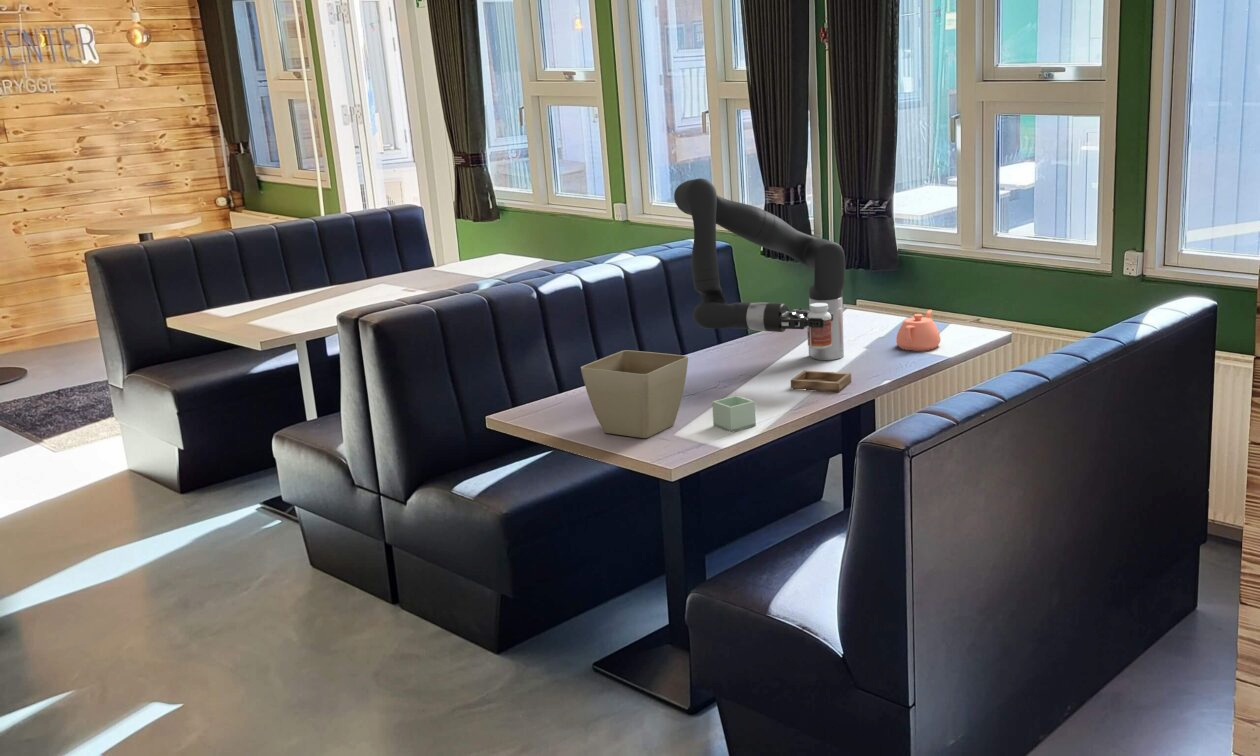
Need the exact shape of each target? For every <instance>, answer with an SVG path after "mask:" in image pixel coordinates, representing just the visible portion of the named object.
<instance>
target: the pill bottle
mask: <svg viewBox="0 0 1260 756" xmlns="http://www.w3.org/2000/svg"><path fill="white" fill-rule="evenodd" d="M809 309H810V311H811V312H810V313H809V314H808V315H807V317H808V318H809V320H810V318H822V319H824V327H822V328H821V327H810V326H809V328H806V329H807V330H806V331H807V332H806V333H807V346H808V348H809V347H810V348H814V349H824V348H828V347H830V346H831V345H832V330H831V314H830V313H829V312H827V310H828V304H827V303H813V304H810V307H809Z"/></svg>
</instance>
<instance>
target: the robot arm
mask: <svg viewBox="0 0 1260 756" xmlns="http://www.w3.org/2000/svg"><path fill="white" fill-rule="evenodd" d="M673 197H674V198H673V199H674V203H675V205H676V206H677V208H678V210H680V211H681V212H682V213H684V214H686V215H689V216H691V218H692V222H693V232H694V233H693V245H692V250H691V252H692V253H691V273H692V279H693V280H692V281H693V286H694V291H696V292H697V293H699V295H700V298H701V303H699V304H698V305H696V306H695V308H694V309H693V312H692V319H693V320H694V322H695V323H696V325H697V326H698V327H700V328H702V329H709V330H710V329H712V330H713V329H715V330H717V329H739V330H740V329H741V330H753V331H758V332H773V333H774V332H775V333H783V332H785V331H786V330H804V329H807V328H809V326H810V327H821V328H822V327H824V319H822V318H810V320H809V318H808V317H807V315H808V314H809V313H810V312H811V311H810V304H813V303H827V304H828V310H827V312H829V313H830V314H831V330H832V345H831V346H830V347H828V348H824V349H814V348H810V347H809V346H808V356H810V357H811V358H812V359H814V360H817V361H832V360H838V359H841V358H844V356H845V352H844V351H845V350H844V345H845V344H844V310H843V292H844V288H845V283H846V255H845V251H844V249H843V247H842V246H841V245H840V243H837V242H836V241H833V240H832V241H831V240H829V239H824V238H820V237H816V236H813V235H810V234H808V233H804V232H802V231H799V230H797V229H796V228H794V227H792V226H791V225H790V224H788V223H787V221H784V220H783V219H782V218H780V217H779V216H777V215H774V214H773V213H771V212H769V211H766V210H764V209H763V208H760V207H757V206H755V205H750V204H748V203H747V204H746V203H742V202H739V201H734V200H730V199H726V198H724V197H722V196H720V195H718V194H717V190H716V188H715V185H714V184H713V183H712V182H711V181H710V180H708V179H707V178H694V179H689V180H686V181H684V182H682V183H680V184H679V185H678V186H677V187H676V189H675V191H674V195H673ZM717 225H718V226H720V227H722V229H725V230H727V231H728V232H730V233H732V234H735V235H736V236H739V237H740V238H743V239H744V240H746V241H749V242H751V243H753V244H755V245H758V246H759V247H762V248H765V249H768V250H771V251H774V252H777V253H782V254H784V255H787V256H789V257H790V258H792V259H794V260H796V261H797V262H799V263H801V264H802V265H804V266H805V267H807V268H809V269H810V270H812V271H814V274H813V275H814V279H813V280H814V281H813V285H812V286H810V287H809V288H808V299H809V300H808V303H809V308H804V307H803V308H802V307H799V308H797V309H795V308H794V309H792V310H791V311H790V310H789V308H788V305H787V304H786V303H782V302H780V303H779V302H741V301H739V302H732V303H727V302H726V298H725V295H724V292H723V289H722V286H721V283H720V282H721V281H720V272H719V271H720V270H719V263H718V253H717Z"/></svg>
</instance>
